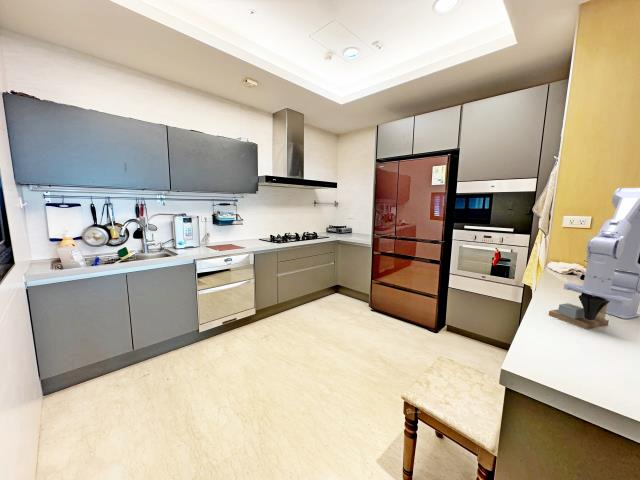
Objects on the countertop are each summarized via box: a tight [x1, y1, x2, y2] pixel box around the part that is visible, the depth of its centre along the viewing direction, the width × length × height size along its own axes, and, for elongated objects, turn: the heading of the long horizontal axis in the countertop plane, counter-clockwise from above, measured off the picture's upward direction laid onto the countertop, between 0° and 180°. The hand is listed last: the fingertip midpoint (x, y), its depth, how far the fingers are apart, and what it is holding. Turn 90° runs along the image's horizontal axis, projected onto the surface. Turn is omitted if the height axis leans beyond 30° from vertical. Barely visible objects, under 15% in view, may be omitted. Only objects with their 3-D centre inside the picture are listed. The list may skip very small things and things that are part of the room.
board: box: [548, 308, 610, 330], centre depth 84 cm, size 11×10×2 cm
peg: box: [594, 304, 608, 321], centre depth 81 cm, size 3×3×6 cm
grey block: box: [558, 302, 584, 319], centre depth 83 cm, size 4×4×3 cm
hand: (589, 319), depth 79 cm, fingers closed
